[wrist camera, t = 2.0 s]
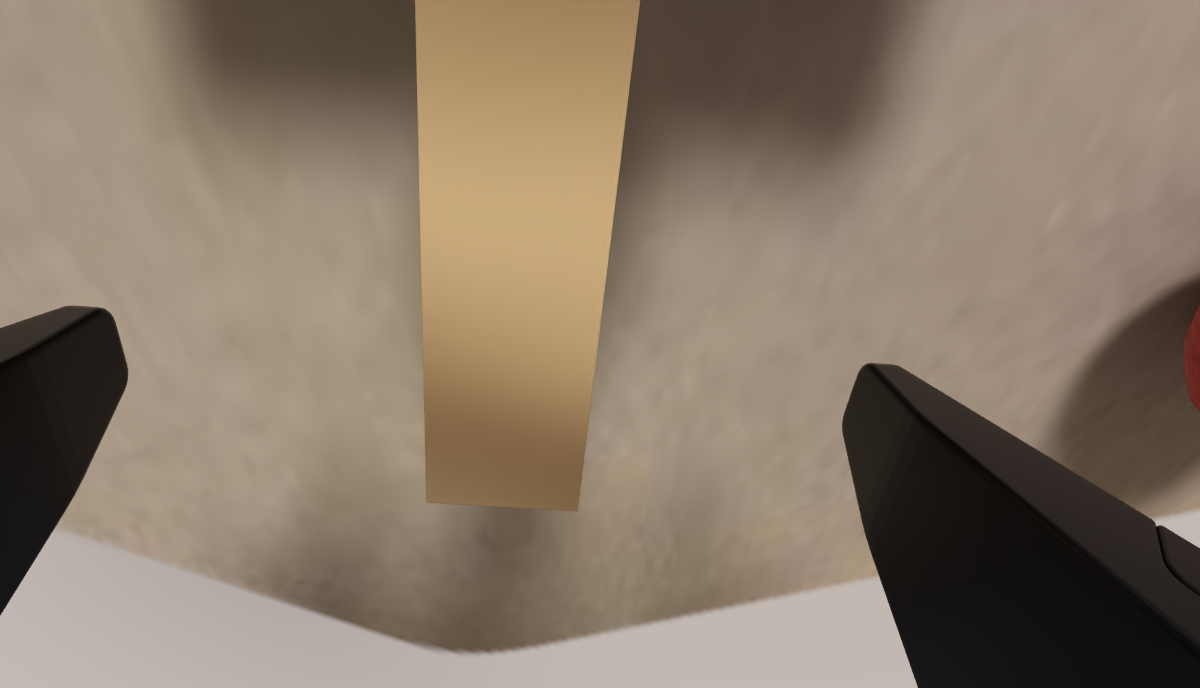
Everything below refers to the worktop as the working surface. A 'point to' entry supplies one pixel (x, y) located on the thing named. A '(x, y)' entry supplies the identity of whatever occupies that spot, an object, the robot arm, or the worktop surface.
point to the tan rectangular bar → (515, 236)
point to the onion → (1193, 359)
